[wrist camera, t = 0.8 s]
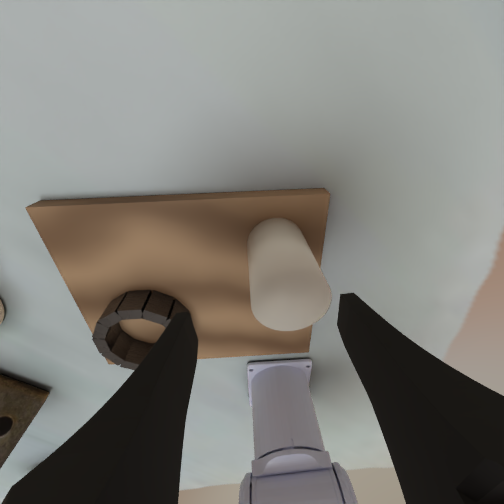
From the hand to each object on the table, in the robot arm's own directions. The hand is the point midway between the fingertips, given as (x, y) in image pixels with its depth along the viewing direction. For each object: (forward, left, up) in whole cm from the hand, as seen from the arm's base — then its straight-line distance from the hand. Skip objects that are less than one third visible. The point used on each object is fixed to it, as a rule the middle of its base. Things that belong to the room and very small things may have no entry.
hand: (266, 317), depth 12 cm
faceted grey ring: (-9, +10, -9) cm, 16 cm away
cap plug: (-1, -2, -9) cm, 9 cm away
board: (-6, +5, -10) cm, 13 cm away
